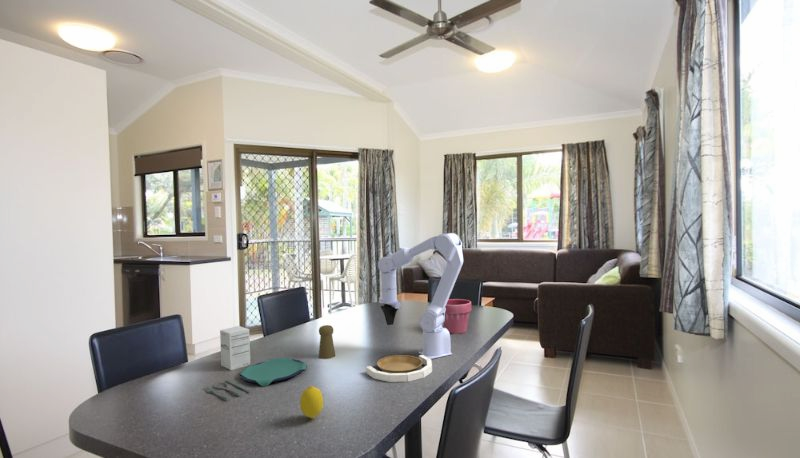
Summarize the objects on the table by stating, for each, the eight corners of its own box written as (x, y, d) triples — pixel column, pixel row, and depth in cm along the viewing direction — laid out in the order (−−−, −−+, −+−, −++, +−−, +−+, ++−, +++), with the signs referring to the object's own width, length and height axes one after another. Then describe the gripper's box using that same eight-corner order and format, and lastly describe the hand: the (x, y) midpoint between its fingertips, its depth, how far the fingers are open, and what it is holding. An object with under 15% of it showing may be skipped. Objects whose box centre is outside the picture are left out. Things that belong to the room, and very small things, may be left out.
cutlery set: (317, 371, 132) (317, 364, 132) (227, 406, 110) (227, 398, 110) (283, 360, 145) (283, 353, 145) (196, 389, 123) (196, 381, 123)
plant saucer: (423, 362, 138) (423, 354, 138) (421, 379, 123) (421, 370, 123) (381, 362, 140) (380, 354, 140) (373, 378, 125) (373, 370, 125)
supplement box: (220, 366, 140) (219, 329, 140) (241, 360, 145) (240, 325, 145) (230, 371, 135) (228, 333, 135) (251, 364, 140) (249, 328, 140)
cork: (331, 359, 144) (330, 328, 143) (315, 358, 145) (314, 327, 145) (337, 353, 150) (336, 323, 149) (322, 353, 151) (321, 323, 151)
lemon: (302, 414, 102) (301, 382, 102) (324, 412, 103) (323, 381, 103) (298, 424, 97) (297, 391, 97) (322, 423, 97) (321, 390, 97)
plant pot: (440, 326, 183) (439, 298, 183) (471, 326, 182) (470, 298, 181) (438, 335, 169) (437, 305, 169) (472, 335, 167) (472, 304, 167)
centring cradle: (422, 360, 139) (422, 354, 139) (444, 372, 128) (444, 366, 127) (366, 372, 129) (366, 366, 129) (384, 387, 118) (384, 380, 118)
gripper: (371, 287, 157) (372, 322, 157) (388, 292, 144) (389, 330, 144) (387, 285, 160) (388, 319, 160) (405, 290, 147) (406, 327, 148)
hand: (390, 324), depth 153 cm, fingers closed
